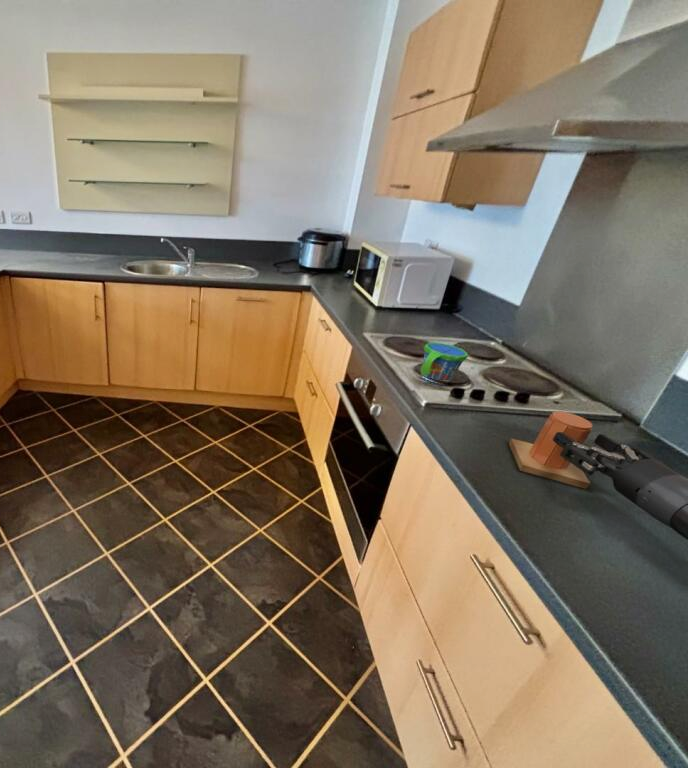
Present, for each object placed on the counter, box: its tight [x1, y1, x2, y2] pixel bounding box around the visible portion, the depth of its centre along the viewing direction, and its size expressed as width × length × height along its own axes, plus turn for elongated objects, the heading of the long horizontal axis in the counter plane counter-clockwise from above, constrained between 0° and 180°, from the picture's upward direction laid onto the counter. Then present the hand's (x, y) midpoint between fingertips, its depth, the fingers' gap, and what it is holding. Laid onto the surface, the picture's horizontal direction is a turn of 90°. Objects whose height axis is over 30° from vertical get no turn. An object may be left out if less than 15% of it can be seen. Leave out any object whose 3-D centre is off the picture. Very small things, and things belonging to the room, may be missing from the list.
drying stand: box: [508, 438, 591, 490], centre depth 85 cm, size 11×11×10 cm
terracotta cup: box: [529, 410, 593, 469], centre depth 85 cm, size 6×6×10 cm
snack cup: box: [420, 342, 469, 387], centre depth 120 cm, size 16×10×10 cm
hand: (577, 436), depth 81 cm, fingers open, 8 cm apart
